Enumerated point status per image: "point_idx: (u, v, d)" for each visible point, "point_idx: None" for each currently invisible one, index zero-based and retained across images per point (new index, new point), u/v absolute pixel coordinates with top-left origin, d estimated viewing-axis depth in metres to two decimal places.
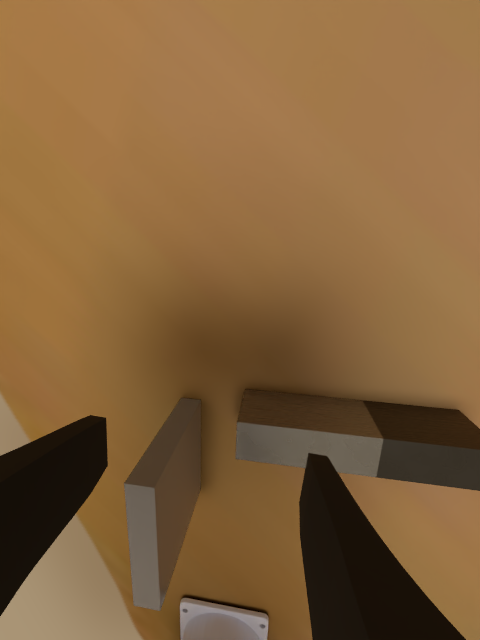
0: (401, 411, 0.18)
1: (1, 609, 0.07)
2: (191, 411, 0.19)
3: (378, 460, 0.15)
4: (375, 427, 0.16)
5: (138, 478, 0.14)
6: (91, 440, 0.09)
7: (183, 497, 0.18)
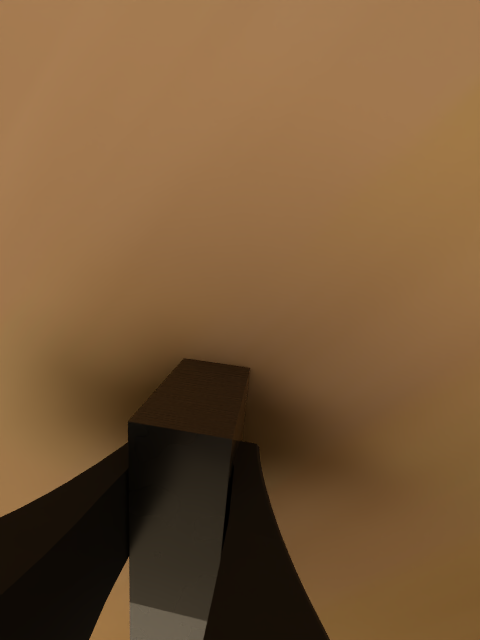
0: None
1: (90, 633, 0.06)
2: None
3: (176, 614, 0.08)
4: None
5: None
6: None
7: None
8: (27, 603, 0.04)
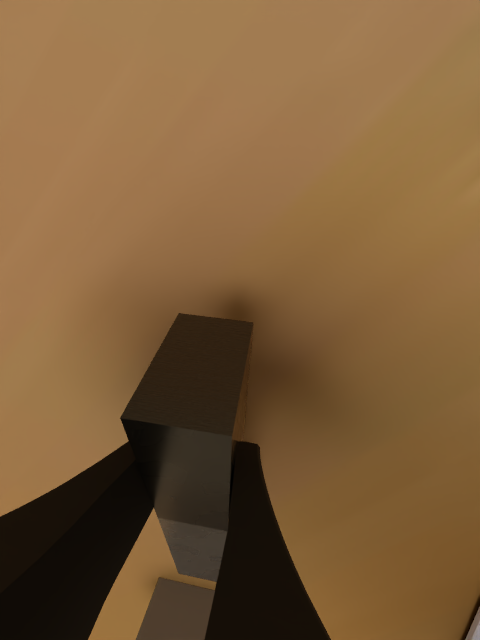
0: None
1: (89, 632, 0.06)
2: (149, 605, 0.19)
3: (196, 525, 0.10)
4: None
5: None
6: None
7: None
8: (26, 602, 0.04)
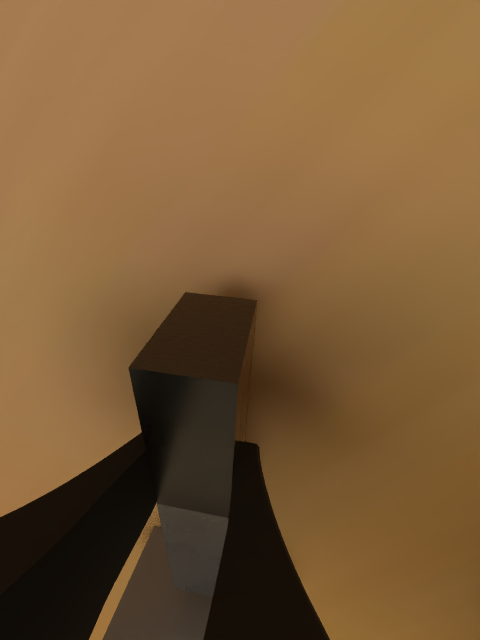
0: None
1: (89, 633, 0.06)
2: (142, 554, 0.17)
3: (196, 512, 0.09)
4: None
5: None
6: None
7: None
8: (27, 602, 0.04)
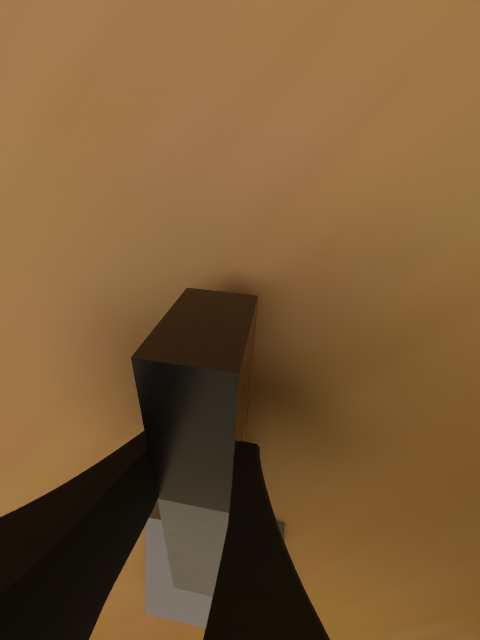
0: None
1: (90, 632, 0.06)
2: (147, 534, 0.17)
3: (197, 507, 0.09)
4: None
5: None
6: None
7: None
8: (27, 602, 0.04)
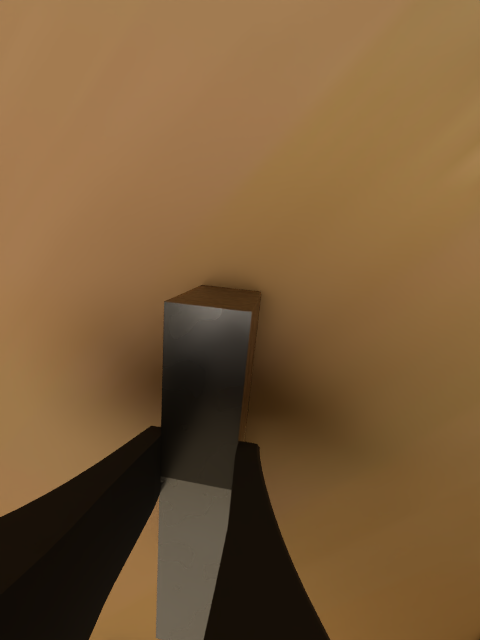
0: None
1: (90, 633, 0.06)
2: None
3: (200, 485, 0.09)
4: None
5: None
6: (157, 452, 0.09)
7: None
8: (27, 603, 0.04)
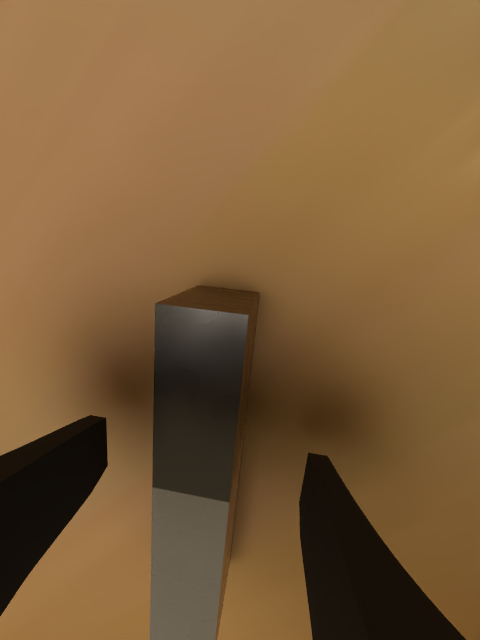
0: None
1: (1, 609, 0.07)
2: None
3: (194, 496, 0.09)
4: None
5: None
6: (91, 441, 0.09)
7: None
8: None
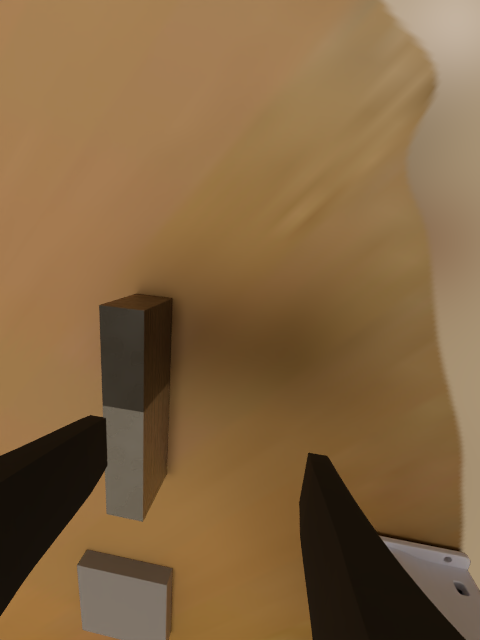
0: None
1: (2, 609, 0.07)
2: (80, 575, 0.25)
3: (125, 410, 0.16)
4: None
5: None
6: (91, 440, 0.09)
7: (128, 611, 0.24)
8: None
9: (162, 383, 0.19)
